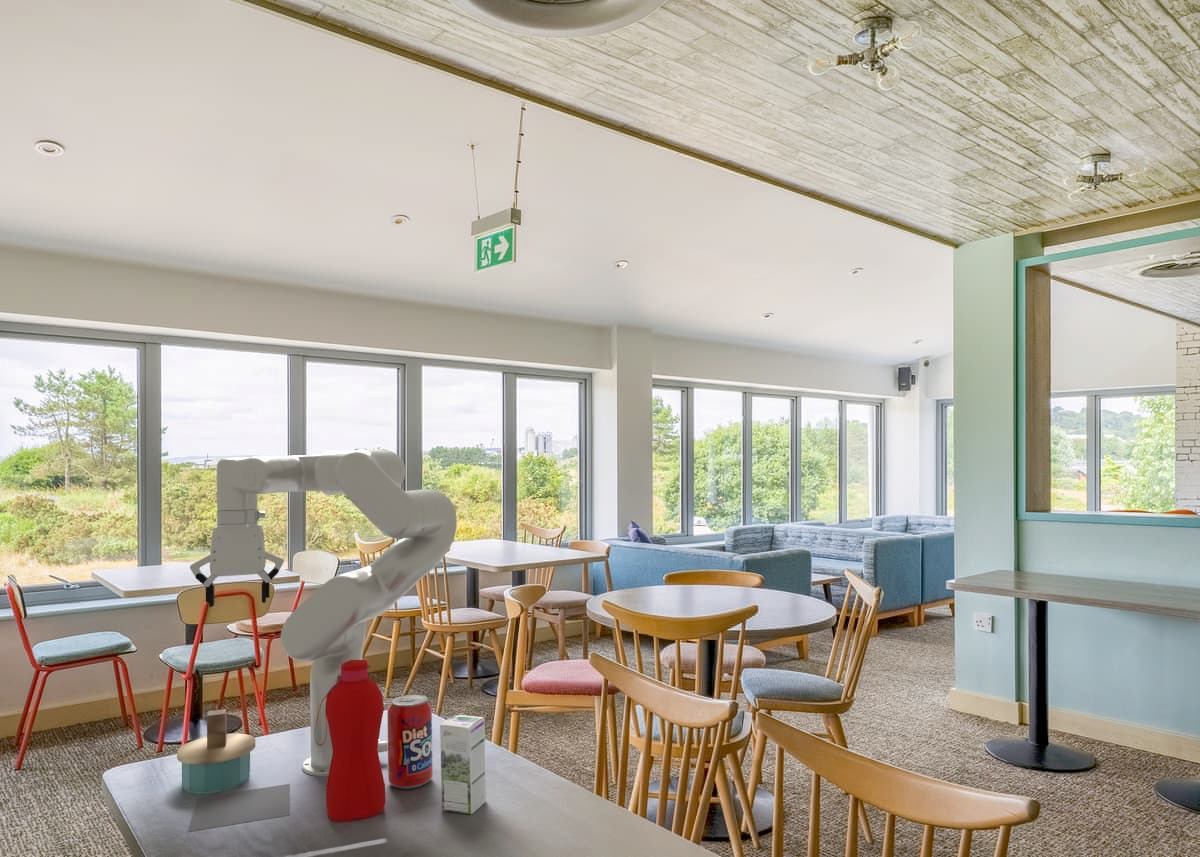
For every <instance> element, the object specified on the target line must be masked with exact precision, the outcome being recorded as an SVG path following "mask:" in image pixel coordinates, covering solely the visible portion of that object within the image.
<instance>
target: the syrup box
mask: <svg viewBox="0 0 1200 857" xmlns="http://www.w3.org/2000/svg"><path fill="white" fill-rule="evenodd" d="M485 722H486V721H485V717H483V716H474V715H465V714H464V715H463V714H462V715H461V714H454V715H452V716H450V717H448V718H447V719H446V720H444V721H442V723H440V725H439V732H440V733H439V734H440V735H439V736H440V738H439V739H440V776H441V777H440V780H441V781H440V783H441V786H440V787H441V810H442V811H444V812H451V813H458V814H464V815H465V814H466V815H473V814H474V813H475V812H477V811H478V809H479V808H481V807H482V806H483V805H484V804H485V803H486V802H487V786H486V785H487V784H486V736H485V735H486V733H485V732H486V730H485V728H486V727H485Z"/></svg>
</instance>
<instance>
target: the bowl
mask: <svg viewBox="0 0 1200 857" xmlns="http://www.w3.org/2000/svg"><path fill="white" fill-rule="evenodd" d="M250 774H251V752H249V753H247V754H245V755H243V756H241V757H238V758H235V759H232V760H228V761H224V762H218V763H212V764H186V763H182V762H181V787H182V789H183V790H184V792H187V793H190V794H196V795H197V794H202V795H203V794H212V793H213V794H214V793H218V792H219V793H220V792H224V791H228V790H231V789H233V788H236V787H239V786H241V785H242V784H245V783H246V782H247V781H248V780H249V779H250Z"/></svg>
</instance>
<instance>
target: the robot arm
mask: <svg viewBox="0 0 1200 857" xmlns="http://www.w3.org/2000/svg"><path fill="white" fill-rule="evenodd" d="M405 477H406V466H405V463H404V460H403V459H402V458H401V457H400V456H399V455H398V454H397V453H395V452H393V451H392V450H388V449H356V450H327V451H324V452H323V453H322V454H315V455H314V454H312V455H309V454H308V455H258V456H256V455H255V456H251V457H225V458H221V459H219V460H218V462H217V464H216V510H217V511H216V525H214V526H213V528H212V532H211V541H210V549H209V550H210V551H209V555H206V556H205V557H202V558H201V559H199V560H197V561H196V562H194V563H192V564H190V566H189V569H190V571H191V573H192V575H194V577H195V579H196V580H197V581H198V582H200V583H201V584H202V585H203V587H205V603H208V607H209V608H213V607H214V606H215V601H216V600H215V585H214V582H215V580H216V579H217V578H218V577H231V576H232V577H235V576H247V575H249V576H250V575H251V576H252V575H258V576H259V577H260V578H261V580H262V581H261V603H263V604H265V603H267V599H269V598H270V582H271V581H272V580H273V579H274V578H275V577H276V576H277V575H278V574H279V572H280V569H282V567H283V565H284V563H285V559H283V557H282V558H281V557H279V556H277V555H275V554H273V553H270V552H267V551H266V548H265V545H266V544H265V536H264V529H263V525H262V524H261V523H258V522H259V520H262V519H266V511H260V510H259V509H258V506H259V505H258V495H265V494H267V495H268V494H276V493H277V494H278V493H295V492H321V493H323V494H325V495H327V496H328V495H329V496H334V495H335V496H339V495H342V496H343V495H344V496H345V497H346V498H348V500H349V501H350V502H352V504H353V505H354V506H355V507H356V508H357V509H358V510H359V511H360V513H361V514H362V515H364V516H365V518H367V519H368V520H369V522H371V524H373V525H374V527H375V528H377V530H379V531H380V533H382V534H384V535H386V536H387V537H390V538H392V539H397V541H396V542H395V543H393V544H391V546H389V547H388V548H387V549H386V550H385V551H384V552H383V553H382V554H381V555H379V557H377V558H376V559H375V560H373V561H372V562H371V563H370V564H368V565H366V566H364V567H362V568H359V569H355V570H350V571H347V572H344V573H343V572H342V573H341V574H338V575H335V576H334V577H332V578H330V579H329V580H328V581H327V580H326V582H324V584H322V585H321V586H320V587H319V588H317V589H316V590H315V591H314V592H313V593H312V594H311V595H310V596H308V598H307V599H306V600H304V601H303V602H302V603H301V604H300V605H299V606H298V607H296V608H295V609H294V611H292V612H291V613H290V615H289V616H288V617H287V619H286V620H285V621H284V623H283V626H282V627H281V632H280V644H281V647H282V649H283V651H284V652H285V654H286V655H287V656H288V657H289V658H291V659H292V660H295V661H298V662H311V661H312V663H311V669H310V676H309V684H310V685H309V692H310V693H309V696H310V697H309V698H310V699H309V700H310V701H309V702H310V704H309V705H310V707H309V708H310V709H309V710H310V711H309V712H310V714H309V715H310V716H309V718H310V719H309V720H310V756H309V757H308V758H307V759H305V760H304V761H303V763H302V764H301V767H302V769H301V770H302V772H303V773H305V774H307V775H309V776H315V777H328V775H329V770H330V765H331V760H332V755H333V749H332V743H331V737H330V732H329V726H328V722H327V717H326V716H325V707H326V700H327V696H326V695H327V694H328V692H329V690H330V689H331V688H332V687H333V686H334V685H335V684H336V683H337V680H339V677H338V676H341V665H342V664H343V663H345V662H347V661H349V660H363V654H364V646H365V640H366V632H367V621H369V620H372V619H375V618H377V617H380V616H382V615H383V614H384V613H386V612H388V610H389V609H390V608H392V607H393V606H394V604H396V602H398V601H399V600H400V599H401V598H402V597H403V596H404V595H406V594H407V593H408V592H409V591H410V590H412V588H413V587H415V585H416V584H418V582H419V581H421V580H422V579H423V578H424V577H426V575H427V574H429V573H430V572H431V571H432V570H433V569H434V568H435V567H436V566H437V565H438V564H440V562H441V561H442V560H443V558H444V557H445V556H446V554H447V553H448V551H450V549H451V546H452V544H453V542H454V540H455V536H456V533H457V526H458V525H457V524H458V523H457V522H458V520H457V514H456V513H457V512H456V509H455V506H454V504H453V502H452V500H451V499H450V498H449V497H448V496H447V495H446V494H445V493H443V492H440V491H439V490H434V489H426V488H424V489H414V490H413V489H412V490H404V489H403V488H401V487H400V486H401V485H402V483H403V482H404V480H405ZM266 560H267V561H269V562H273V563H274V564H275V565H274V566H273V568H272V570H270V571H269V572H267V571H266V570H265V568H266ZM208 563H209V571H210V575H209V576H208V577H207V576H206V575H205V574H204V573H202V571H201V569H200V568H202V567H203V566H205V565H207V564H208ZM337 677H338V679H337ZM325 696H326V698H325ZM324 698H325V699H324ZM323 699H324V700H323ZM322 700H323V702H322ZM321 702H322V704H321ZM320 705H321V707H320ZM319 708H320V711H319ZM318 712H319V715H318ZM317 716H318V719H317ZM316 720H317V724H316ZM315 726H316V731H315ZM326 726H327V735H326ZM315 738H316V741H315ZM325 738H326V740H325ZM324 741H325V742H324ZM316 742H317V743H318V744H322V743H323V742H324V744H323V745H318V744H317V743H316ZM377 750H378V754H379V753H384V752H388V740H384V741H381V740H380V738H379V742H378V749H377Z"/></svg>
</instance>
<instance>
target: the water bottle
mask: <svg viewBox="0 0 1200 857" xmlns="http://www.w3.org/2000/svg"><path fill="white" fill-rule="evenodd" d="M368 662H369V661H367V660H365V659H362V660H349V661H347V662H345V663H343V664H342V665H341V676H338V677H339V680H337V683H336V684H335V685H334V686H333V687H332V688H331V689H330V690H329V692H328V694H327V695H326V696H327V700H326V707H325V716H326V717H327V722H328V726H329V732H330V737H331V743H332V749H333V755H332V760H331V765H330V770H329V775H328V776H327V781H326V789H325V790H326V792H325V793H326V797H325V802H326V805H325V807H326V812H327V816H328V818H329V819H330V820H331V821H332V822H337V823H345V822H347V823H348V822H352V821H356V820H363V819H369V818H373V817H376V816H378V815H380V814H381V813H383V811H384V809H385V806H386V784H385V778H384V773H383V769H382V764H381V760H380V756H379V753H378V750H377V749H378V742H379V739H380V733H381V725H382V721H383V717H384V711H385V705H384V697H383V696H384V695H383V693H382V691H381V689H380V688H379V686H378V684H377V683H376V681H374V680H373V679H371V678H369V675H368V672H369V671H368V670H369V668H372V666H371V665H369V664H368ZM338 677H337V679H338ZM326 696H325V698H326ZM325 698H324V699H325ZM324 699H323V700H324ZM323 700H322V702H323ZM322 702H321V704H322ZM320 707H321V705H320ZM319 711H320V708H319ZM318 715H319V712H318ZM317 719H318V716H317ZM316 724H317V720H316ZM315 731H316V726H315ZM326 735H327V726H326ZM325 740H326V738H325ZM315 741H316V738H315ZM324 742H325V741H324ZM324 742H323V743H322V744H318V743H317V742H316V743H317V744H318V745H323V744H324Z"/></svg>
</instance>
